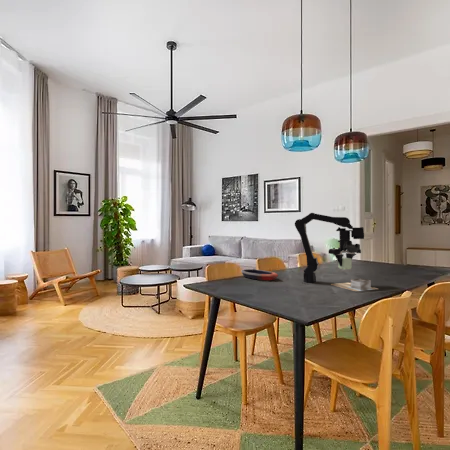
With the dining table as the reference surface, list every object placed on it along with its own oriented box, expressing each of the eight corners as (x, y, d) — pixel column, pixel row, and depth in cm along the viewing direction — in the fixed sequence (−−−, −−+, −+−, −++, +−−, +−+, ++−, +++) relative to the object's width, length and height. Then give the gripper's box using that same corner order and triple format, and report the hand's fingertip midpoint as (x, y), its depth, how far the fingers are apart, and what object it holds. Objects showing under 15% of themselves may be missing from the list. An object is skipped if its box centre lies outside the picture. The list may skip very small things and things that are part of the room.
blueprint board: (355, 293, 164) (355, 282, 164) (329, 285, 183) (329, 276, 183) (379, 290, 169) (379, 280, 169) (352, 283, 189) (352, 274, 189)
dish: (252, 274, 227) (252, 267, 227) (284, 280, 203) (284, 272, 203) (235, 276, 218) (235, 269, 218) (267, 283, 193) (267, 275, 193)
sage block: (344, 269, 180) (344, 258, 180) (338, 268, 185) (338, 257, 185) (351, 268, 182) (351, 258, 181) (345, 267, 186) (345, 257, 186)
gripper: (341, 240, 172) (341, 268, 172) (368, 239, 178) (368, 266, 179) (327, 239, 183) (328, 266, 183) (353, 238, 189) (354, 264, 189)
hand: (344, 265), depth 183 cm, fingers closed on sage block, 5 cm apart
